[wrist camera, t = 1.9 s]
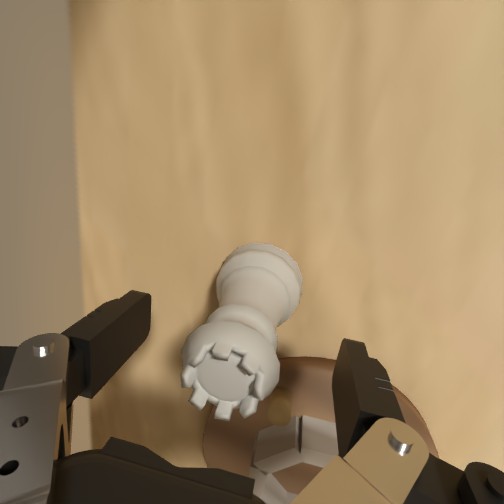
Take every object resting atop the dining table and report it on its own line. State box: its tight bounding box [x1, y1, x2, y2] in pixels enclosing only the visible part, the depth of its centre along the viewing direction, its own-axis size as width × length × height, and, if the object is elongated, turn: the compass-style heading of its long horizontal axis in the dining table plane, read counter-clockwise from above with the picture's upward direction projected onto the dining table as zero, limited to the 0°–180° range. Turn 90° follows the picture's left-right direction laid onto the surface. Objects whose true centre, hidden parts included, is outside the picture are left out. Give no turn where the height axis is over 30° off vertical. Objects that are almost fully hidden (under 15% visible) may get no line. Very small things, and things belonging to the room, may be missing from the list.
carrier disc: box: [203, 357, 439, 504], centre depth 18 cm, size 14×14×3 cm
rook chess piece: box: [181, 243, 303, 421], centre depth 12 cm, size 4×4×8 cm
